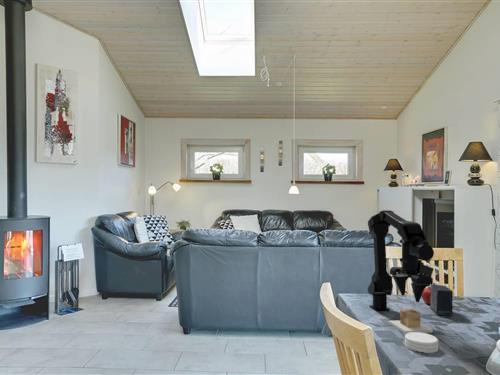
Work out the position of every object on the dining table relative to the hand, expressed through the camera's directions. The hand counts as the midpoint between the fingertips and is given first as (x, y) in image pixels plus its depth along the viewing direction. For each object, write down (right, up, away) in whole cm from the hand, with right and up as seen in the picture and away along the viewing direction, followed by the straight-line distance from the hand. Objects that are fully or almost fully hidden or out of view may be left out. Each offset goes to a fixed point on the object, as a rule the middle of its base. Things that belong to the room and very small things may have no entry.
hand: (410, 298), depth 140 cm
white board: (0, -11, 0) cm, 11 cm away
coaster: (-4, -11, -18) cm, 22 cm away
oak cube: (0, -10, 0) cm, 10 cm away
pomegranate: (+25, -12, +32) cm, 43 cm away
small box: (+22, -12, +20) cm, 32 cm away
